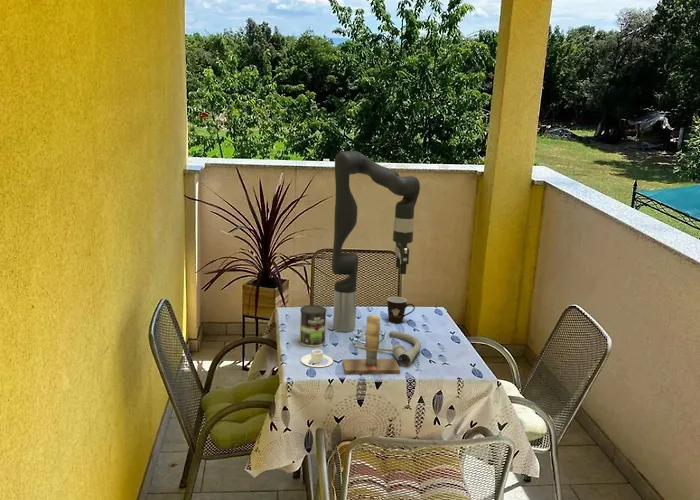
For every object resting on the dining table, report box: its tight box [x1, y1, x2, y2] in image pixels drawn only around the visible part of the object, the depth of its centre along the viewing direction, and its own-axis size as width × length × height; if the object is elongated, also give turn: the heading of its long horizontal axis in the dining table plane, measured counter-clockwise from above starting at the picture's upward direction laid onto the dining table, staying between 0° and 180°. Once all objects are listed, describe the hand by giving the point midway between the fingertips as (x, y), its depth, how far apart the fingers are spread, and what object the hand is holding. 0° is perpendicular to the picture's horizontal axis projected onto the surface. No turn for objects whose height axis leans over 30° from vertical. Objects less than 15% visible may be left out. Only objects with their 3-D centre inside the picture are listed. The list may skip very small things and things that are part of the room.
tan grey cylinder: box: [364, 315, 381, 366], centre depth 244 cm, size 5×5×18 cm
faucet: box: [352, 330, 422, 367], centre depth 266 cm, size 5×28×28 cm
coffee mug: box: [386, 296, 416, 325], centre depth 296 cm, size 12×9×10 cm
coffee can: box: [299, 304, 327, 348], centre depth 267 cm, size 10×10×14 cm
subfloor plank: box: [342, 358, 401, 375], centre depth 246 cm, size 20×10×2 cm, turn 97°
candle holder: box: [300, 349, 334, 368], centre depth 250 cm, size 12×12×4 cm
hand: (400, 270), depth 256 cm, fingers open, 8 cm apart
